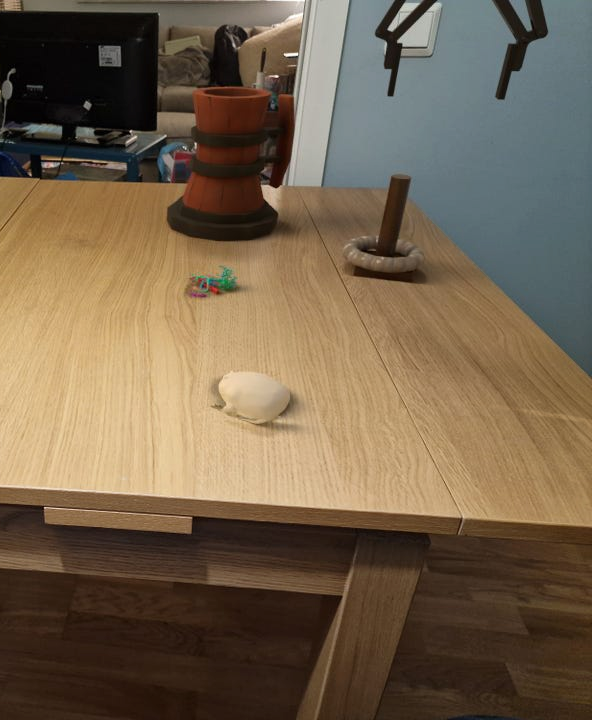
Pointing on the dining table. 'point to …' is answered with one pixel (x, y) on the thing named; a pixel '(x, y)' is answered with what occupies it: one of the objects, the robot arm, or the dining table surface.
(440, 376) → the dining table surface
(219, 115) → the tankard
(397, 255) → the stand
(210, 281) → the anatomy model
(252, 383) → the garlic
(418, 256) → the bracelet
